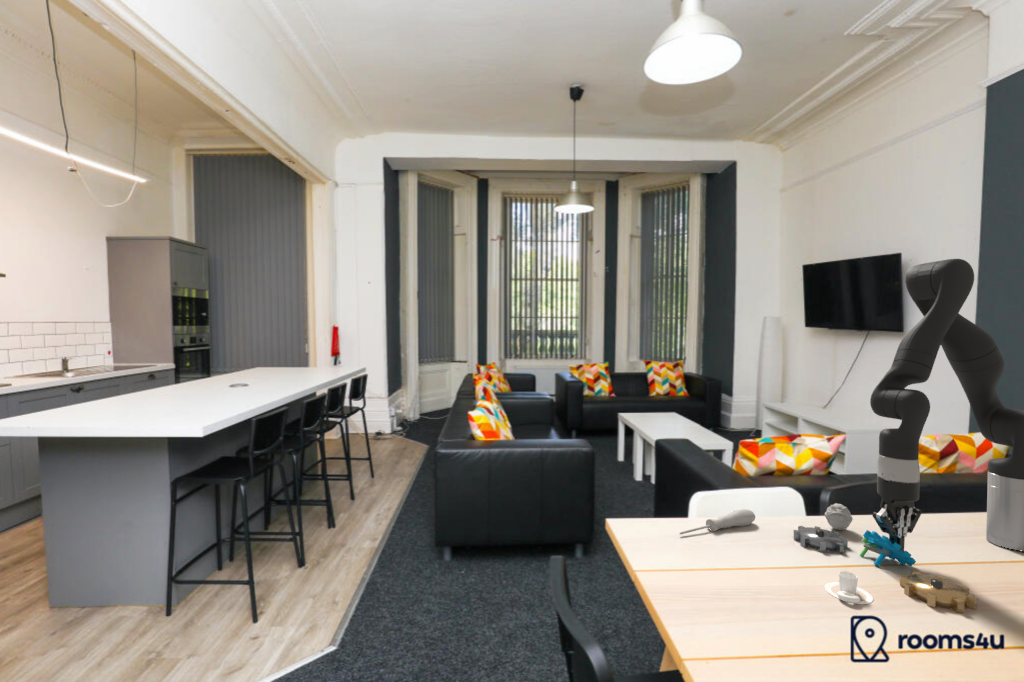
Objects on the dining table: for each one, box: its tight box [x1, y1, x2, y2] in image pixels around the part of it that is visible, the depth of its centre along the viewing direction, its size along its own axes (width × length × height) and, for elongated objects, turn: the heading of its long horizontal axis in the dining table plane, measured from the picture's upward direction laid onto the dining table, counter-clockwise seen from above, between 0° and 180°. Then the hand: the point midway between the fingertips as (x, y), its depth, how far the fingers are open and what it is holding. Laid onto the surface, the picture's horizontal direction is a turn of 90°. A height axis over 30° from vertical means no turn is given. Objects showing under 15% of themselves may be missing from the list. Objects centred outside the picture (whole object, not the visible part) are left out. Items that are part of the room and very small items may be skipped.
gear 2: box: [859, 529, 917, 568], centre depth 108 cm, size 11×6×10 cm
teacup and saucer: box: [824, 570, 874, 605], centre depth 96 cm, size 9×8×4 cm
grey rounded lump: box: [824, 502, 854, 531], centre depth 127 cm, size 6×7×7 cm
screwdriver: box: [679, 508, 756, 535], centre depth 127 cm, size 5×25×4 cm, turn 111°
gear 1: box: [792, 525, 849, 554], centre depth 119 cm, size 11×11×3 cm
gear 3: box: [899, 571, 977, 614], centre depth 95 cm, size 11×11×3 cm
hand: (896, 551), depth 109 cm, fingers closed
